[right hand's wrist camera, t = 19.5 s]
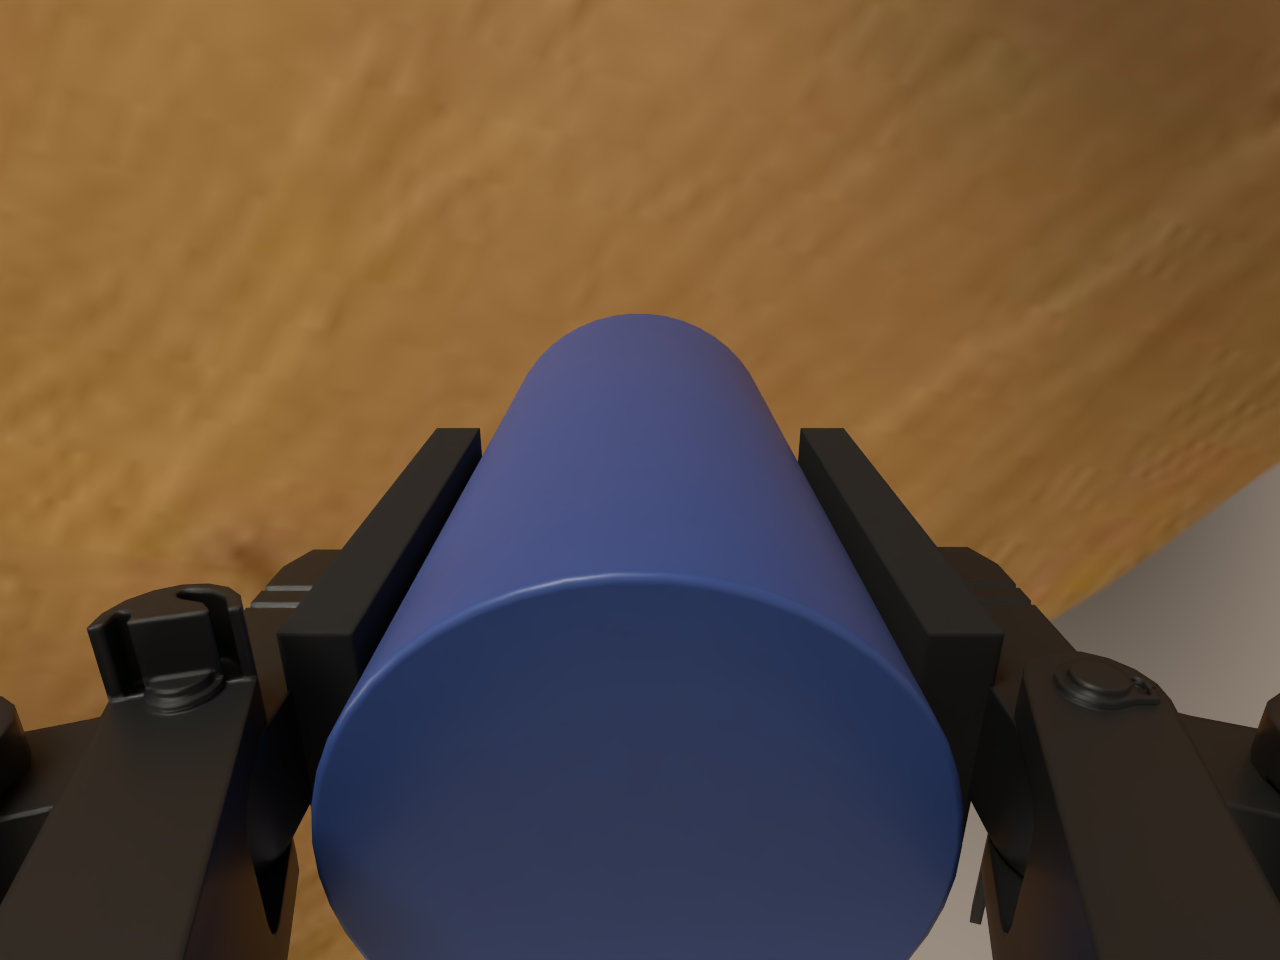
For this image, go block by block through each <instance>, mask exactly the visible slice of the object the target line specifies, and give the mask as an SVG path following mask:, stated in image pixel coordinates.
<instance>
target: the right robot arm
mask: <svg viewBox="0 0 1280 960" xmlns="http://www.w3.org/2000/svg"><path fill="white" fill-rule="evenodd" d="M481 458H482V450H481V438H480V428H437V429H436V430H435V431H434V433H433V434H432V435H431V436H430V438H429V439H428V440H427V442H426V443H425V444H424V445H423V447H422V448H421V449H420V450H419V452H418V453H417V454H416V455H415V457H414V458H413V459H412V461H411V462H410V463H409V464H408V466H407V467H406V468H405V469H404V471H403V472H402V473H401V475H400V476H399V477H398V478H397V480H396V481H395V482H394V483H393V485H392V486H391V487H390V489H389V490H388V491H387V492H386V494H385V495H384V496H383V497H382V499H381V500H380V501H379V503H378V504H377V505H376V506H375V508H374V509H373V510H372V511H371V513H370V514H369V515H368V517H367V518H366V519H365V520H364V522H363V523H362V524H361V525H360V527H359V528H358V529H357V531H356V532H355V533H354V534H353V536H352V537H351V538H350V539H349V541H348V542H347V543H346V544H345V546H344V547H343V548H342V550H312V551H310V552H308V553H307V554H305V555H303V556H301V557H300V558H298V559H296V560H294V561H293V562H291V563H289V564H287V565H286V566H284V567H283V568H282V569H281V570H280V571H279V572H278V573H277V574H276V576H275V577H274V578H273V579H272V580H271V581H270V582H269V583H268V584H267V586H266V587H265V591H261V592H260V593H259V594H258V596H257V597H256V598H255V599H254V600H253V601H252V602H251V603H250V608H246V609H245V610H243V605H242V600H241V596H240V595H239V594H238V593H236V592H235V591H233V590H232V589H231V588H229V587H225V586H219V585H214V584H187V585H178V586H173V587H169V588H164V589H159V590H154V591H151V592H148V593H145V594H142V595H140V596H137V597H134V598H131V599H128V600H126V601H124V602H122V603H120V604H118V605H116V606H115V607H113V608H111V609H109V610H107V611H106V612H104V613H102V614H101V615H100V616H99V617H98V618H97V619H96V620H95V621H94V622H93V623H92V624H91V625H89V626H88V627H87V631H88V634H89V638H90V641H91V644H92V647H93V651H94V654H95V657H96V660H97V664H98V667H99V670H100V673H101V677H102V680H103V683H104V687H105V690H106V693H107V696H108V700H109V702H108V704H107V706H106V708H105V710H104V711H103V713H102V715H101V717H98V718H94V719H89V720H84V721H79V722H74V723H68V724H63V725H58V726H53V727H48V728H42V729H37V730H32V731H27V732H24V730H23V727H22V725H21V722H20V719H19V716H18V714H17V711H16V708H15V705H14V704H12V703H11V702H9V701H8V700H6V699H5V698H3V697H1V696H0V960H287V958H288V951H289V943H290V935H291V928H292V920H293V913H294V905H295V898H296V890H297V883H298V875H299V867H298V860H297V853H296V849H295V844H294V840H293V836H294V834H295V832H296V830H297V828H298V826H299V824H300V822H301V820H302V818H303V816H304V815H305V813H306V811H307V809H308V807H309V805H311V804H312V797H313V790H314V784H315V777H316V771H317V768H318V765H319V762H320V759H321V756H322V753H323V750H324V747H325V744H326V741H327V738H328V737H329V735H330V733H331V731H332V729H333V727H334V726H335V724H336V722H337V720H338V718H339V716H340V714H341V713H342V711H343V709H344V707H345V705H346V703H347V702H348V700H349V698H350V696H351V694H352V692H353V691H354V689H355V687H356V685H357V683H358V682H359V680H360V678H361V676H362V674H363V672H364V671H365V669H366V667H367V665H368V663H369V662H370V660H371V658H372V656H373V654H374V652H375V651H376V649H377V647H378V645H379V643H380V642H381V640H382V638H383V636H384V634H385V632H386V631H387V629H388V627H389V625H390V623H391V622H392V620H393V618H394V616H395V614H396V612H397V611H398V609H399V607H400V605H401V603H402V602H403V600H404V598H405V596H406V594H407V592H408V591H409V589H410V587H411V585H412V583H413V582H414V580H415V578H416V576H417V574H418V572H419V571H420V569H421V567H422V565H423V563H424V562H425V560H426V558H427V556H428V554H429V552H430V551H431V549H432V547H433V545H434V543H435V542H436V540H437V538H438V536H439V534H440V532H441V531H442V529H443V527H444V525H445V523H446V522H447V520H448V518H449V516H450V514H451V512H452V511H453V509H454V507H455V505H456V503H457V502H458V500H459V498H460V496H461V494H462V492H463V491H464V489H465V487H466V485H467V483H468V482H469V480H470V478H471V476H472V474H473V472H474V471H475V469H476V467H477V465H478V463H479V462H480V460H481ZM798 464H799V465H800V467H801V469H802V471H803V473H804V475H805V477H806V478H807V480H808V482H809V484H810V486H811V488H812V489H813V491H814V493H815V495H816V497H817V499H818V501H819V502H820V504H821V506H822V508H823V510H824V512H825V513H826V515H827V517H828V519H829V521H830V523H831V525H832V526H833V528H834V530H835V532H836V534H837V536H838V537H839V539H840V541H841V543H842V545H843V547H844V549H845V550H846V552H847V554H848V556H849V558H850V560H851V562H852V563H853V565H854V567H855V569H856V571H857V573H858V574H859V576H860V578H861V580H862V582H863V584H864V586H865V587H866V589H867V591H868V593H869V595H870V597H871V598H872V600H873V602H874V604H875V606H876V608H877V610H878V611H879V613H880V615H881V617H882V619H883V621H884V623H885V624H886V626H887V628H888V630H889V632H890V634H891V635H892V637H893V639H894V641H895V643H896V645H897V647H898V648H899V650H900V652H901V654H902V656H903V658H904V659H905V661H906V663H907V665H908V667H909V669H910V671H911V672H912V674H913V676H914V678H915V680H916V682H917V683H918V685H919V687H920V689H921V691H922V693H923V695H924V696H925V698H926V700H927V702H928V704H929V706H930V708H931V709H932V711H933V713H934V715H935V717H936V719H937V721H938V723H939V725H940V726H941V728H942V730H943V732H944V734H945V736H946V738H947V740H948V742H949V745H950V748H951V751H952V754H953V757H954V761H955V764H956V767H957V770H958V773H959V779H960V786H961V793H962V800H963V807H964V808H963V836H962V842H963V837H964V832H965V827H966V822H967V818H968V812H969V808H970V803H971V802H972V804H973V805H974V808H975V809H976V811H977V813H978V815H979V817H980V819H981V821H982V823H983V825H984V827H985V828H986V830H987V832H988V835H987V840H986V844H985V849H984V853H983V858H982V863H981V867H980V872H979V876H978V881H977V886H976V890H975V895H974V900H973V904H972V911H971V917H970V922H972V923H976V924H981V921H982V917H983V913H984V908H985V907H986V911H987V918H988V926H989V933H990V941H991V948H992V956H993V960H1280V693H1279V694H1278V695H1276V696H1275V697H1273V698H1272V699H1271V700H1269V701H1268V702H1267V705H1266V707H1265V710H1264V713H1263V716H1262V718H1261V721H1260V724H1259V727H1258V729H1257V728H1252V727H1247V726H1241V725H1236V724H1231V723H1226V722H1221V721H1215V720H1210V719H1205V718H1200V717H1194V716H1189V715H1185V714H1181V713H1178V712H1177V710H1176V708H1175V706H1174V704H1173V702H1172V701H1171V699H1170V698H1169V697H1168V696H1167V695H1166V693H1165V692H1164V691H1163V690H1162V689H1161V688H1160V686H1159V685H1158V684H1157V683H1155V682H1154V681H1152V680H1151V679H1149V678H1148V677H1146V676H1145V675H1143V674H1142V673H1140V672H1138V671H1137V670H1135V669H1133V668H1131V667H1128V666H1126V665H1124V664H1121V663H1119V662H1116V661H1114V660H1112V659H1109V658H1106V657H1101V656H1097V655H1093V654H1089V653H1084V652H1078V651H1076V650H1075V649H1074V648H1073V647H1072V646H1071V644H1070V643H1069V642H1068V641H1067V640H1066V639H1065V638H1064V637H1063V636H1062V635H1061V633H1060V632H1059V631H1058V630H1057V629H1056V628H1055V627H1054V626H1053V625H1052V623H1051V622H1050V621H1049V620H1048V619H1047V618H1046V617H1045V616H1044V615H1043V614H1042V612H1041V611H1040V610H1039V609H1038V608H1037V607H1036V606H1035V605H1031V600H1030V599H1029V598H1028V597H1027V596H1026V595H1025V594H1024V593H1023V592H1022V590H1021V589H1020V588H1016V584H1015V583H1014V582H1013V580H1012V579H1011V578H1010V577H1009V576H1008V575H1007V574H1006V573H1005V572H1004V571H1003V569H1002V568H1001V567H1000V566H999V565H998V564H997V563H995V562H993V561H991V560H990V559H988V558H986V557H984V556H982V555H981V554H979V553H977V552H975V551H974V550H972V549H970V548H968V547H937V546H936V545H935V544H934V543H933V541H932V540H931V539H930V537H929V536H928V535H927V534H926V532H925V531H924V530H923V529H922V527H921V526H920V525H919V524H918V522H917V521H916V520H915V518H914V517H913V516H912V515H911V513H910V512H909V511H908V510H907V508H906V507H905V506H904V504H903V503H902V502H901V501H900V499H899V498H898V497H897V496H896V494H895V493H894V492H893V490H892V489H891V488H890V487H889V485H888V484H887V483H886V482H885V480H884V479H883V478H882V476H881V475H880V474H879V473H878V471H877V470H876V469H875V468H874V466H873V465H872V464H871V463H870V461H869V460H868V459H867V457H866V456H865V455H864V454H863V452H862V451H861V450H860V449H859V447H858V446H857V445H856V443H855V442H854V441H853V440H852V438H851V437H850V436H849V435H848V433H847V432H846V431H845V429H844V428H801V431H800V444H799V456H798Z"/></svg>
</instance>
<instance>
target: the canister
mask: <svg viewBox="0 0 1280 960" xmlns="http://www.w3.org/2000/svg"><path fill="white" fill-rule="evenodd" d="M963 808H964V807H963V800H962V793H961V786H960V779H959V773H958V770H957V767H956V764H955V761H954V757H953V754H952V751H951V748H950V745H949V742H948V740H947V738H946V736H945V734H944V732H943V730H942V728H941V726H940V725H939V723H938V721H937V719H936V717H935V715H934V713H933V711H932V709H931V708H930V706H929V704H928V702H927V700H926V698H925V696H924V695H923V693H922V691H921V689H920V687H919V685H918V683H917V682H916V680H915V678H914V676H913V674H912V672H911V671H910V669H909V667H908V665H907V663H906V661H905V659H904V658H903V656H902V654H901V652H900V650H899V648H898V647H897V645H896V643H895V641H894V639H893V637H892V635H891V634H890V632H889V630H888V628H887V626H886V624H885V623H884V621H883V619H882V617H881V615H880V613H879V611H878V610H877V608H876V606H875V604H874V602H873V600H872V598H871V597H870V595H869V593H868V591H867V589H866V587H865V586H864V584H863V582H862V580H861V578H860V576H859V574H858V573H857V571H856V569H855V567H854V565H853V563H852V562H851V560H850V558H849V556H848V554H847V552H846V550H845V549H844V547H843V545H842V543H841V541H840V539H839V537H838V536H837V534H836V532H835V530H834V528H833V526H832V525H831V523H830V521H829V519H828V517H827V515H826V513H825V512H824V510H823V508H822V506H821V504H820V502H819V501H818V499H817V497H816V495H815V493H814V491H813V489H812V488H811V486H810V484H809V482H808V480H807V478H806V477H805V475H804V473H803V471H802V469H801V467H800V465H799V464H798V462H797V460H796V458H795V456H794V454H793V452H792V451H791V449H790V447H789V445H788V443H787V441H786V440H785V438H784V436H783V434H782V432H781V430H780V428H779V427H778V425H777V423H776V421H775V419H774V417H773V416H772V414H771V412H770V410H769V408H768V406H767V404H766V403H765V401H764V399H763V397H762V395H761V393H760V392H759V390H758V388H757V386H756V384H755V382H754V380H753V379H752V377H751V375H750V373H749V372H748V370H747V369H746V368H745V366H744V365H743V364H742V362H741V361H740V360H739V359H738V358H737V356H736V355H735V354H734V353H733V352H732V351H731V350H730V349H729V348H728V347H727V346H725V345H724V344H723V343H721V342H720V341H719V340H718V339H716V338H715V337H714V336H712V335H710V334H709V333H707V332H705V331H704V330H702V329H700V328H698V327H696V326H693V325H691V324H689V323H686V322H684V321H681V320H677V319H674V318H670V317H666V316H659V315H652V314H626V315H618V316H612V317H608V318H604V319H600V320H596V321H594V322H591V323H589V324H586V325H584V326H582V327H579V328H577V329H576V330H574V331H572V332H571V333H569V334H567V335H565V336H564V337H562V338H561V339H560V340H559V341H557V342H556V343H555V344H553V345H552V346H551V347H550V348H549V349H548V350H547V351H546V352H545V353H544V354H543V355H542V356H541V357H540V358H539V359H538V360H537V362H536V363H535V364H534V366H533V367H532V368H531V370H530V371H529V373H528V374H527V376H526V378H525V380H524V382H523V383H522V385H521V387H520V389H519V391H518V392H517V394H516V396H515V398H514V400H513V402H512V403H511V405H510V407H509V409H508V411H507V412H506V414H505V416H504V418H503V420H502V422H501V423H500V425H499V427H498V429H497V431H496V432H495V434H494V436H493V438H492V440H491V442H490V443H489V445H488V447H487V449H486V451H485V452H484V454H483V456H482V458H481V460H480V462H479V463H478V465H477V467H476V469H475V471H474V472H473V474H472V476H471V478H470V480H469V482H468V483H467V485H466V487H465V489H464V491H463V492H462V494H461V496H460V498H459V500H458V502H457V503H456V505H455V507H454V509H453V511H452V512H451V514H450V516H449V518H448V520H447V522H446V523H445V525H444V527H443V529H442V531H441V532H440V534H439V536H438V538H437V540H436V542H435V543H434V545H433V547H432V549H431V551H430V552H429V554H428V556H427V558H426V560H425V562H424V563H423V565H422V567H421V569H420V571H419V572H418V574H417V576H416V578H415V580H414V582H413V583H412V585H411V587H410V589H409V591H408V592H407V594H406V596H405V598H404V600H403V602H402V603H401V605H400V607H399V609H398V611H397V612H396V614H395V616H394V618H393V620H392V622H391V623H390V625H389V627H388V629H387V631H386V632H385V634H384V636H383V638H382V640H381V642H380V643H379V645H378V647H377V649H376V651H375V652H374V654H373V656H372V658H371V660H370V662H369V663H368V665H367V667H366V669H365V671H364V672H363V674H362V676H361V678H360V680H359V682H358V683H357V685H356V687H355V689H354V691H353V692H352V694H351V696H350V698H349V700H348V702H347V703H346V705H345V707H344V709H343V711H342V713H341V714H340V716H339V718H338V720H337V722H336V724H335V726H334V727H333V729H332V731H331V733H330V735H329V737H328V738H327V741H326V744H325V747H324V750H323V753H322V756H321V759H320V762H319V765H318V768H317V771H316V777H315V784H314V790H313V797H312V804H311V811H312V844H313V849H314V854H315V859H316V864H317V869H318V874H319V877H320V880H321V882H322V885H323V888H324V890H325V893H326V896H327V898H328V901H329V904H330V906H331V908H332V909H333V911H334V913H335V915H336V917H337V918H338V920H339V922H340V924H341V925H342V927H343V929H344V931H345V932H346V934H347V935H348V937H349V938H350V939H351V941H352V942H353V943H354V944H355V946H356V947H357V948H358V950H359V951H360V952H361V954H362V955H363V956H364V957H365V959H366V960H909V959H910V957H911V956H912V955H913V953H914V952H915V951H916V950H917V948H918V947H919V946H920V944H921V943H922V942H923V941H924V939H925V938H926V937H927V936H928V934H929V932H930V930H931V929H932V927H933V925H934V923H935V922H936V920H937V918H938V916H939V915H940V913H941V911H942V910H943V908H944V906H945V903H946V900H947V898H948V895H949V893H950V890H951V888H952V885H953V882H954V880H955V877H956V872H957V868H958V863H959V858H960V853H961V848H962V836H963Z"/></svg>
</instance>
